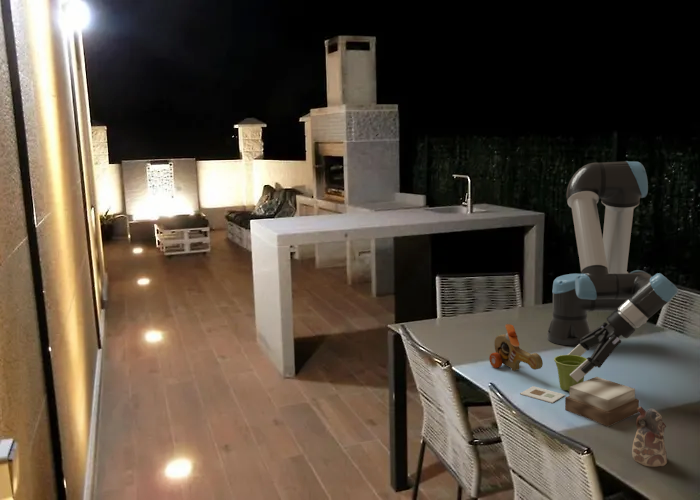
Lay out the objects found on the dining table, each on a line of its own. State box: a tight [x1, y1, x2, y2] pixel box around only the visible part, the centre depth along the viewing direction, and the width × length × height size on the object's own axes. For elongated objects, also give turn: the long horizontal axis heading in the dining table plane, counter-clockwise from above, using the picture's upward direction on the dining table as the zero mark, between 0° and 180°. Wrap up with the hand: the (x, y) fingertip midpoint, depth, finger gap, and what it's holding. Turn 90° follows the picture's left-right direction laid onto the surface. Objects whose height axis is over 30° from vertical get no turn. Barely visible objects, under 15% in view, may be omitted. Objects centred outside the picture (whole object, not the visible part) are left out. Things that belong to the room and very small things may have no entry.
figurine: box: [631, 406, 668, 468], centre depth 143 cm, size 7×7×12 cm
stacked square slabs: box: [564, 376, 640, 427], centre depth 169 cm, size 13×13×6 cm
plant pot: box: [553, 354, 588, 393], centre depth 185 cm, size 9×9×9 cm
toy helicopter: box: [488, 323, 544, 372], centre depth 199 cm, size 8×21×14 cm, turn 26°
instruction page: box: [520, 385, 566, 404], centre depth 182 cm, size 10×7×1 cm
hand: (569, 370), depth 184 cm, fingers open, 13 cm apart
